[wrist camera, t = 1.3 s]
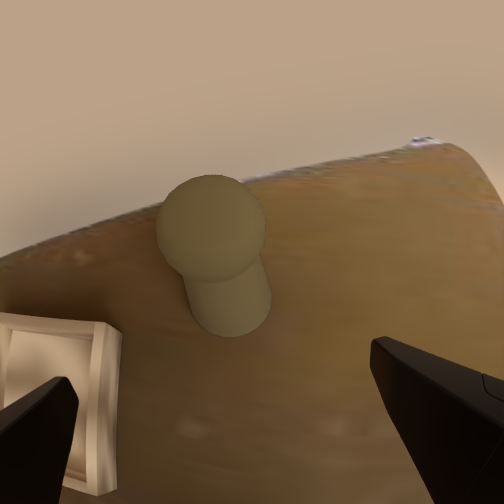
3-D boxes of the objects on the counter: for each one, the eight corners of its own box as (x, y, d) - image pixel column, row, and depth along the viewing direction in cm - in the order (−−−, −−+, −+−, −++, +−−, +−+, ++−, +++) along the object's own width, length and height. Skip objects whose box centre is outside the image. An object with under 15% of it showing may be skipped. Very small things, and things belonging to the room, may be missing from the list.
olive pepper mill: (267, 256, 25) (266, 149, 15) (276, 333, 22) (285, 261, 12) (188, 263, 25) (145, 164, 15) (190, 340, 22) (131, 276, 12)
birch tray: (116, 488, 16) (97, 496, 14) (1, 449, 17) (-22, 447, 14) (123, 334, 22) (105, 322, 20) (12, 322, 23) (-8, 311, 20)
